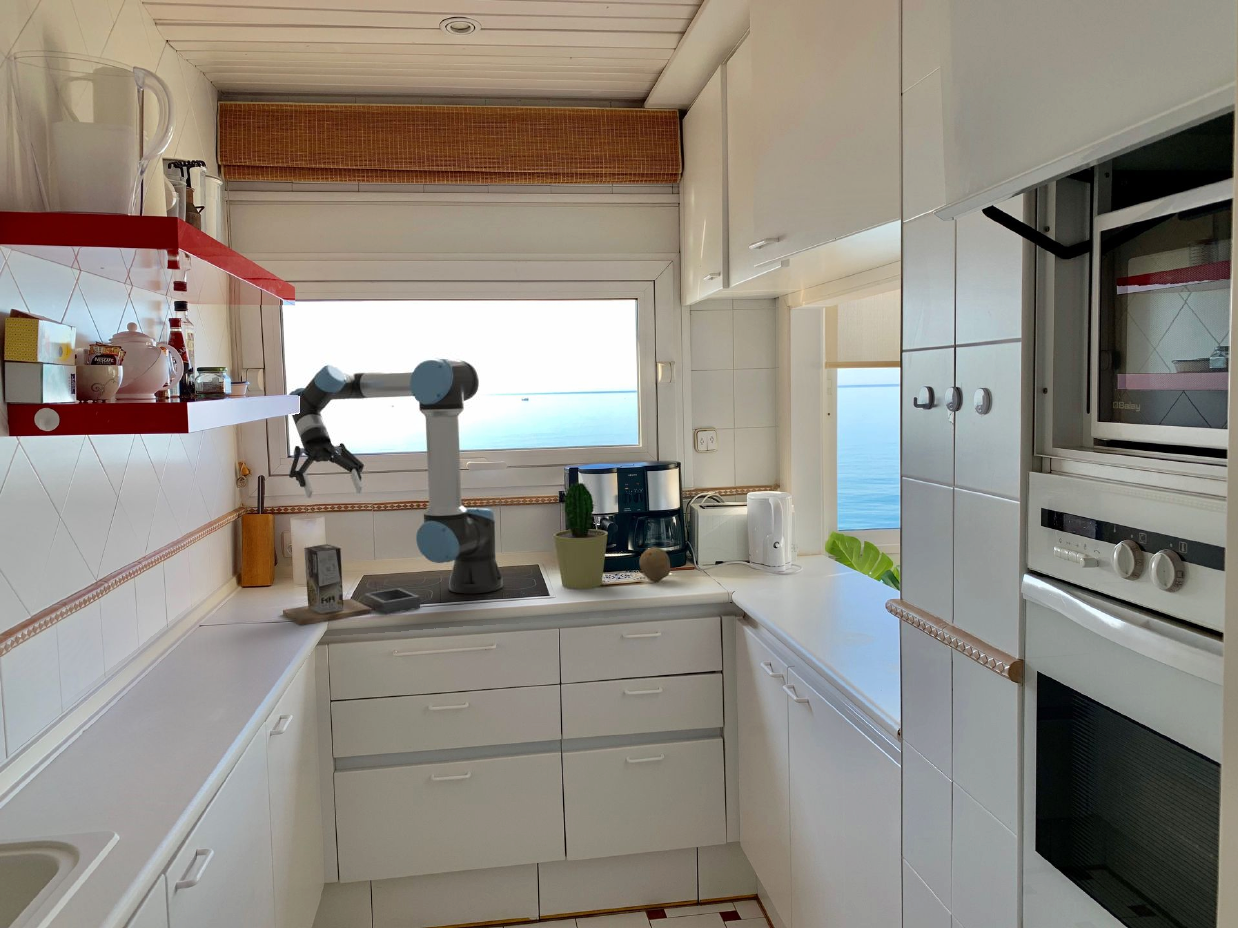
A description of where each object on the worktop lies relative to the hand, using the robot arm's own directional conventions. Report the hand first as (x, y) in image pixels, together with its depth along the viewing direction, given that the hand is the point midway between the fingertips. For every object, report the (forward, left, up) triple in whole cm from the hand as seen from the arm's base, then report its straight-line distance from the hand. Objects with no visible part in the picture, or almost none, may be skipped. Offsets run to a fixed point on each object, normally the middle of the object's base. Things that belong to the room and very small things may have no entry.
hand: (335, 492), depth 249 cm
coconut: (-78, +40, -30) cm, 92 cm away
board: (+8, +12, -30) cm, 33 cm away
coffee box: (+8, +12, -29) cm, 32 cm away
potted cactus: (-60, +29, -30) cm, 73 cm away
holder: (-8, +16, -30) cm, 35 cm away
